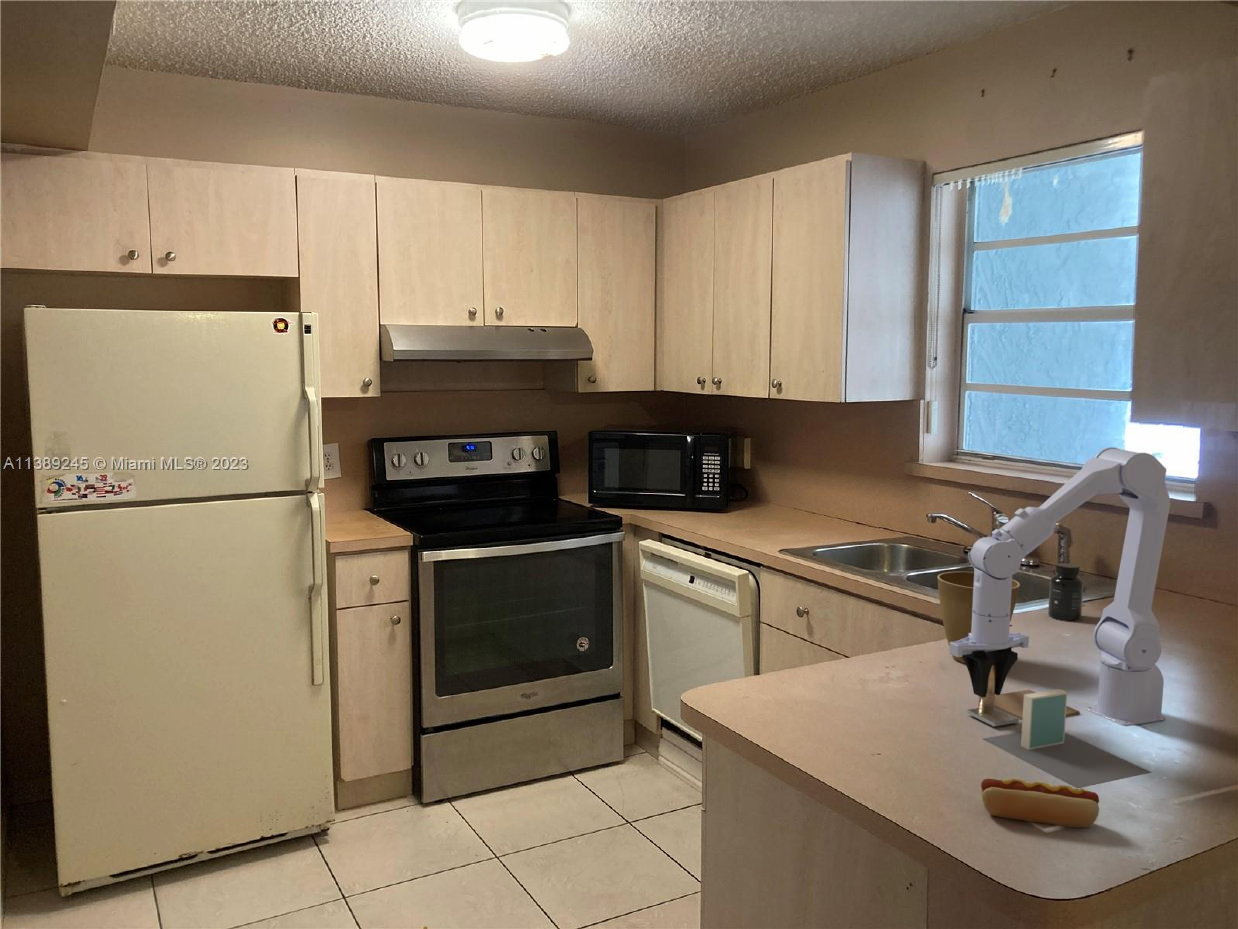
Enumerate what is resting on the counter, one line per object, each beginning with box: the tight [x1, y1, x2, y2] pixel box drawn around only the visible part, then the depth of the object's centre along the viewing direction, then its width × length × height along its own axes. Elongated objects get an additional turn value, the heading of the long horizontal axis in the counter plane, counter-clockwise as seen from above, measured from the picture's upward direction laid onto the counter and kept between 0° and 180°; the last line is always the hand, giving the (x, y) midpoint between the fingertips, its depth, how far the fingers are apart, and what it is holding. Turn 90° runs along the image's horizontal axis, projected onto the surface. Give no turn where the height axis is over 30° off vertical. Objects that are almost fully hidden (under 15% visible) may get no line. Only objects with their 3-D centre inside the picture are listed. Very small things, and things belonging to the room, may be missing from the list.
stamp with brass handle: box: [967, 663, 1020, 727], centre depth 156 cm, size 6×5×9 cm
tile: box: [1021, 688, 1068, 750], centre depth 146 cm, size 7×2×8 cm, turn 112°
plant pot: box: [937, 571, 1021, 664], centre depth 188 cm, size 15×15×16 cm
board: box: [994, 689, 1081, 721], centre depth 163 cm, size 11×11×1 cm
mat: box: [982, 731, 1152, 789], centre depth 143 cm, size 14×18×1 cm
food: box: [980, 778, 1100, 829], centre depth 124 cm, size 14×6×5 cm, turn 74°
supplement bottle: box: [1047, 562, 1084, 622], centre depth 219 cm, size 7×7×12 cm
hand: (987, 694), depth 158 cm, fingers closed on stamp with brass handle, 2 cm apart
